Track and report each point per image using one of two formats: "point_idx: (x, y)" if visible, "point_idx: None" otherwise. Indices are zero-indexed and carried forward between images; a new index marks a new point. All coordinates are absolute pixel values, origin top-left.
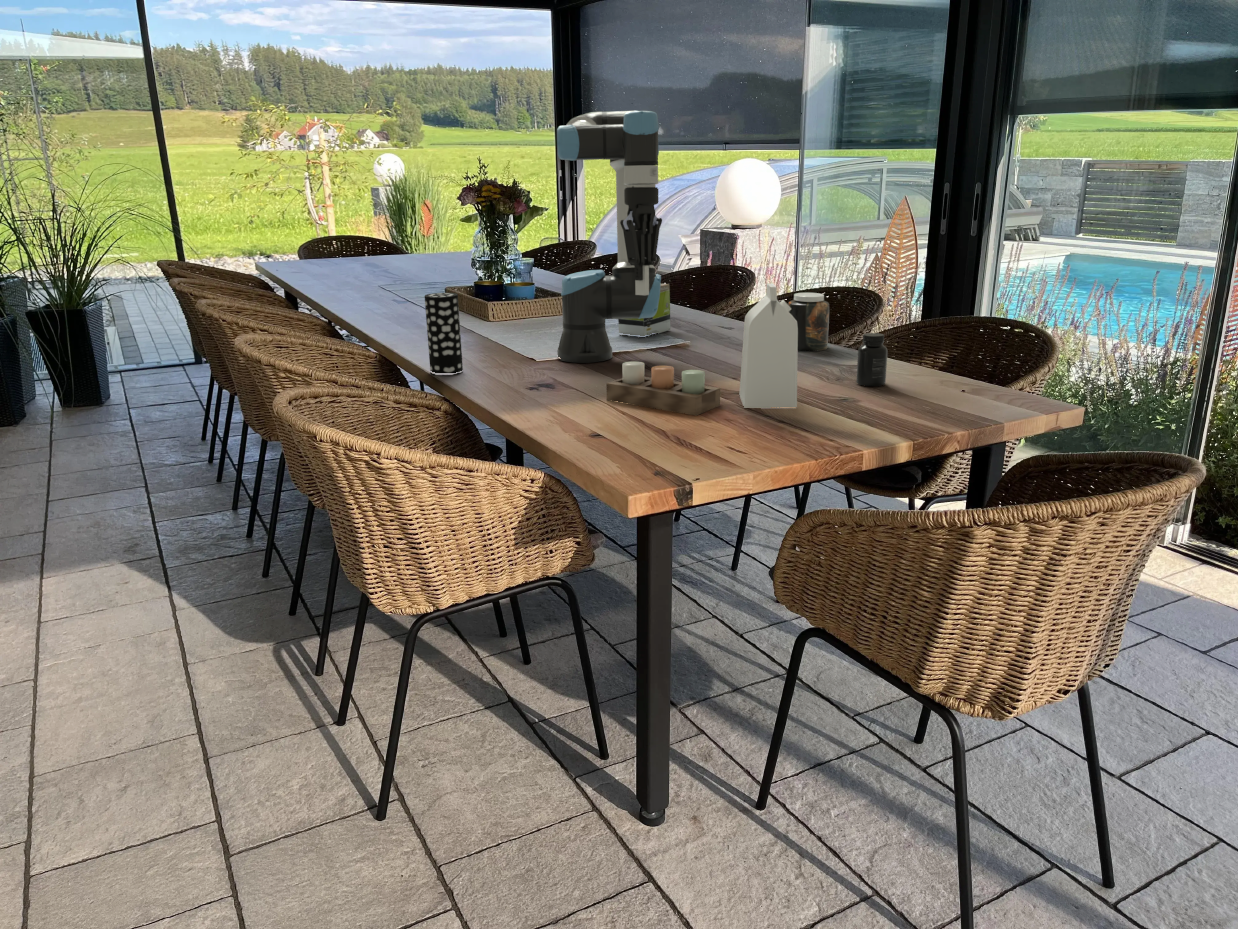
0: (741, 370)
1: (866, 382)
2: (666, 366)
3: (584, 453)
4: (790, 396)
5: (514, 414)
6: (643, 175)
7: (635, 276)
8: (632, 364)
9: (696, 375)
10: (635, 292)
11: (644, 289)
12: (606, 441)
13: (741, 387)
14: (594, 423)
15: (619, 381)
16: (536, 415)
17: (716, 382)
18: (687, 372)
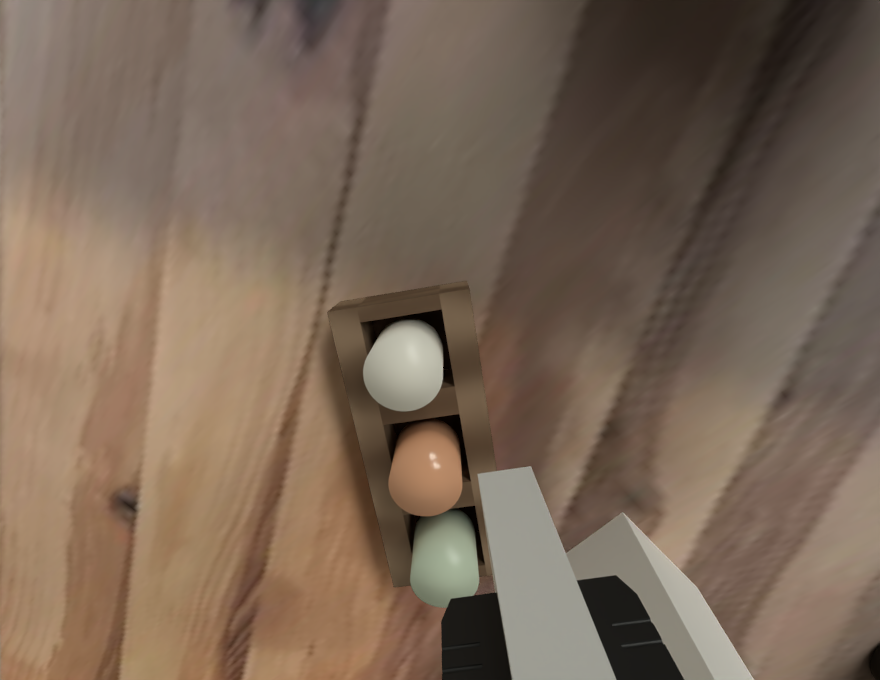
0: (642, 575)
1: (876, 674)
2: (450, 479)
3: (41, 565)
4: None
5: (45, 222)
6: None
7: (442, 647)
8: (393, 379)
9: (426, 601)
10: (479, 483)
11: (494, 586)
12: (120, 544)
13: (602, 557)
14: (176, 437)
15: (380, 318)
16: (93, 277)
17: (711, 389)
18: (431, 570)
